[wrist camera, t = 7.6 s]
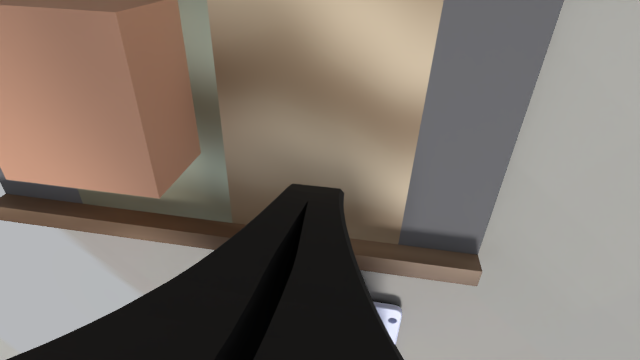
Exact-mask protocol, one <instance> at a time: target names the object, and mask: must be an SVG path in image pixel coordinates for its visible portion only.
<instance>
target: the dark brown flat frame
mask: <svg viewBox="0 0 640 360" xmlns="http://www.w3.org/2000/svg"><path fill="white" fill-rule="evenodd" d="M443 1H444V0H178V6H179V12H180V19H181V25H182V32H183V38H184V45H185V52H186V58H187V65H188V71H189V78H190V84H191V91H192V98H193V104H194V111H195V117H196V124H197V130H198V137H199V144H200V150H201V154H200V155H199V156H198V157H197V158H196V159H195V160H194V161H193V162H192V164H191V165H190V166H189V167H188V168H187V169H186V170H185V171H184V172H183V173H182V175H181V176H180V177H179V178H178V179H177V180H176V181H175V182H174V183H173V184H172V185H171V187H170V188H169V189H168V190H167V191H166V192H165V193H164V194H163V195H162V196H161V197H160V199H158V198H150V197H142V196H134V195H126V194H118V193H110V192H102V191H94V190H86V189H78V188H77V189H78V191H79V194H80V197H81V200H82V202H83V204H82V203H74V202H66V201H59V200H51V199H43V198H35V197H28V196H20V195H12V194H5V195H3V196H2V197H0V220H4V221H12V222H18V223H26V224H33V225H40V226H47V227H54V228H61V229H69V230H76V231H83V232H90V233H97V234H105V235H112V236H119V237H126V238H133V239H141V240H148V241H155V242H162V243H169V244H176V245H184V246H191V247H198V248H205V249H212V250H216V249H217V248H218V247H220V246H221V245H222V244H223V243H225V242H226V241H227V240H229V239H230V238H231V237H232V236H234V235H235V234H236V233H237V232H239V231H240V230H241V229H242V228H243V227H245V226H246V225H247V224H248V223H249V222H250V221H251V220H253V219H254V218H255V217H256V216H257V215H258V214H259V213H261V212H262V211H263V210H264V209H265V208H266V207H267V206H268V205H269V204H270V203H271V202H272V201H273V200H274V199H276V198H277V197H278V196H279V195H280V194H281V193H282V192H283V191H284V190H285V189H286V188H287V187H288V186H290V185H291V184H302V185H311V186H321V187H330V188H340V189H341V190H342V191H343V192H344V215H345V221H346V226H347V230H348V234H349V238H350V241H351V245H352V249H353V252H354V255H355V258H356V261H357V264H358V266H359V269H360V270H364V271H371V272H378V273H385V274H392V275H400V276H407V277H414V278H421V279H428V280H436V281H443V282H450V283H457V284H464V285H472V286H477V285H478V282H479V280H480V277H481V274H482V269H481V265H480V262H479V258H478V255H476V254H468V253H460V252H452V251H445V250H437V249H429V248H421V247H414V246H406V245H398V243H399V237H400V232H401V227H402V221H403V216H404V210H405V205H406V200H407V194H408V189H409V184H410V178H411V173H412V168H413V162H414V157H415V151H416V146H417V141H418V135H419V130H420V125H421V119H422V114H423V109H424V103H425V98H426V92H427V87H428V82H429V76H430V71H431V66H432V60H433V55H434V50H435V44H436V39H437V34H438V28H439V23H440V17H441V12H442V7H443Z"/></svg>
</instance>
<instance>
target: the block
mask: <svg viewBox="0 0 640 360" xmlns="http://www.w3.org/2000/svg"><path fill="white" fill-rule="evenodd" d="M200 154H201V150H200V144H199V137H198V130H197V124H196V117H195V111H194V104H193V98H192V91H191V84H190V78H189V71H188V65H187V58H186V52H185V45H184V38H183V32H182V25H181V19H180V12H179V6H178V0H0V168H1V170H2V172H3V174H4V176H5V178H6V180H14V181H22V182H30V183H38V184H46V185H54V186H62V187H70V188H78V189H86V190H94V191H102V192H110V193H118V194H126V195H134V196H142V197H150V198H158V199H160V197H161V196H162V195H163V194H164V193H165V192H166V191H167V190H168V189H169V188H170V187H171V185H172V184H173V183H174V182H175V181H176V180H177V179H178V178H179V177H180V176H181V175H182V173H183V172H184V171H185V170H186V169H187V168H188V167H189V166H190V165H191V164H192V162H193V161H194V160H195V159H196V158H197V157H198V156H199V155H200Z"/></svg>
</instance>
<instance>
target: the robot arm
mask: <svg viewBox="0 0 640 360" xmlns="http://www.w3.org/2000/svg"><path fill="white" fill-rule="evenodd" d="M401 318H402V309H401V308H400V307H399V306H397V305H392V304H386V303H379V302H373V301H372V298H371V296H370V294H369V292H368V289H367V287H366V285H365V282H364V280H363V277H362V275H361V272H360V269H359V266H358V264H357V261H356V258H355V255H354V252H353V249H352V245H351V241H350V238H349V234H348V230H347V226H346V221H345V215H344V192H343V191H342V190H341V189H340V188H330V187H321V186H311V185H302V184H291V185H290V186H288V187H287V188H286V189H285V190H284V191H283V192H282V193H281V194H280V195H279V196H278V197H277V198H276V199H274V200H273V201H272V202H271V203H270V204H269V205H268V206H267V207H266V208H265V209H264V210H263V211H262V212H261V213H259V214H258V215H257V216H256V217H255V218H254V219H253V220H251V221H250V222H249V223H248V224H247V225H246V226H245V227H243V228H242V229H241V230H240V231H239V232H237V233H236V234H235V235H234V236H232V237H231V238H230V239H229V240H227V241H226V242H225V243H223V244H222V245H221V246H220V247H218V248H217V249H216V250H214V251H213V252H212V253H210V254H209V255H208V256H206V257H205V258H203V259H202V260H201V261H199V262H198V263H196V264H195V265H193V266H192V267H190V268H189V269H187V270H186V271H184V272H183V273H181V274H179V275H178V276H176V277H175V278H173V279H172V280H170V281H168V282H167V283H165V284H163V285H161V286H159V287H158V288H156V289H154V290H152V291H150V292H149V293H147V294H145V295H143V296H142V297H140V298H138V299H136V300H134V301H133V302H131V303H129V304H127V305H125V306H124V307H122V308H120V309H118V310H116V311H114V312H112V313H110V314H108V315H106V316H104V317H102V318H100V319H98V320H96V321H94V322H92V323H90V324H87V325H85V326H83V327H81V328H79V329H77V330H74V331H72V332H70V333H68V334H66V335H64V336H62V337H59V338H57V339H55V340H52V341H50V342H48V343H46V344H43V345H41V346H39V347H36V348H34V349H31V350H29V351H27V352H24V353H21V354H19V355H17V356H14V357H12V358H9V359H7V360H404V359H403V357H402V356H401V354H400V352H399V351H398V349H397V347H396V341H397V336H398V332H399V327H400V323H401Z"/></svg>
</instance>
